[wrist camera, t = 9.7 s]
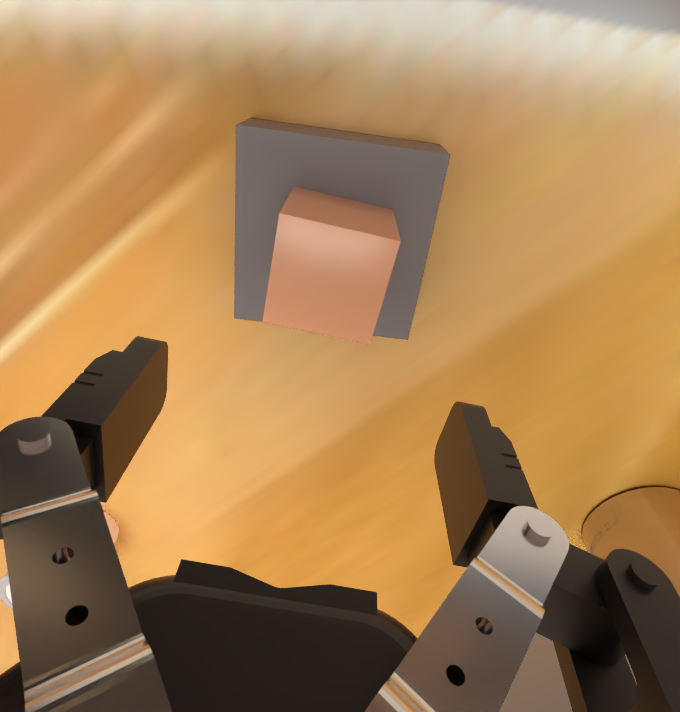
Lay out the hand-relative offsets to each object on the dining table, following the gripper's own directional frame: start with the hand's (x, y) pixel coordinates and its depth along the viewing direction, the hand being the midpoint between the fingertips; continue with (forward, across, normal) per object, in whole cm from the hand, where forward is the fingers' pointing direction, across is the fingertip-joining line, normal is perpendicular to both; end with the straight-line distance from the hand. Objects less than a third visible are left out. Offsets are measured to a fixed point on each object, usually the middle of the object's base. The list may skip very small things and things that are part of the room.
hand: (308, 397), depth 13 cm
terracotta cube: (+13, 0, 0) cm, 13 cm away
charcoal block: (+17, 0, 0) cm, 17 cm away
